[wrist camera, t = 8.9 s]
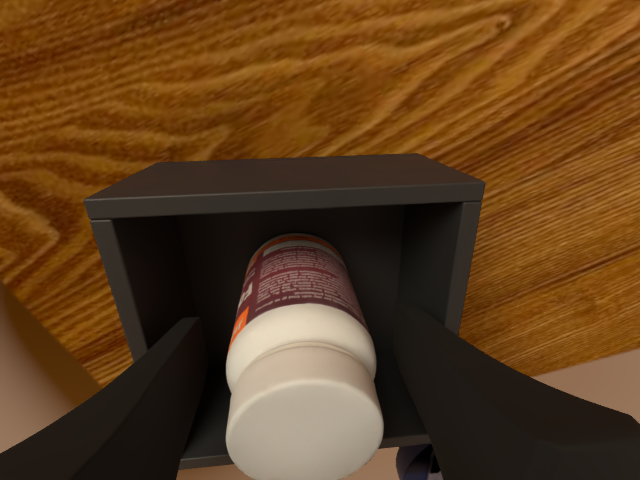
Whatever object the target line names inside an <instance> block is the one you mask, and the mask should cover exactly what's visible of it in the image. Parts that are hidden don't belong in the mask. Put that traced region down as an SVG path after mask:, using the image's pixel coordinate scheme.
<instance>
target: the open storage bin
mask: <svg viewBox="0 0 640 480" xmlns="http://www.w3.org/2000/svg"><path fill="white" fill-rule="evenodd" d="M484 189H485V182H484V181H482V180H479V179H477V178H474V177H472V176H470V175H467V174H465V173H463V172H460V171H458V170H455V169H453V168H451V167H448V166H446V165H444V164H441V163H439V162H436V161H434V160H432V159H429V158H427V157H424V156H422V155H420V154H418V153H413V154H385V155H357V156H329V157H301V158H273V159H245V160H217V161H189V162H161V163H155V164H153V165H152V166H150V167H148V168H146V169H144V170H142V171H140V172H138V173H136V174H134V175H132V176H130V177H128V178H126V179H124V180H121V181H119V182H117V183H115V184H113V185H111V186H109V187H107V188H105V189H103V190H101V191H99V192H97V193H95V194H93V195H91V196H89V197H87V198H85V199H84V204H85V207H86V210H87V214H88V217H89V219H92V220H91V221H90V223H91V227H92V230H93V233H94V236H95V239H96V243H97V246H98V249H99V252H100V255H101V259H102V262H103V265H104V268H105V272H106V275H107V278H108V281H109V284H110V288H111V291H112V294H113V297H114V300H115V304H116V307H117V310H118V313H119V317H120V320H121V323H122V326H123V329H124V333H125V336H126V339H127V342H128V345H129V349H130V352H131V355H132V358H133V361H134V363H135V362H136V361H137V360H138V359H139V358H140V357H142V356H143V355H144V354H145V353H146V352H147V351H148V350H149V349H150V348H151V347H152V346H153V345H154V344H156V343H157V342H158V341H159V340H160V339H161V338H162V337H163V336H164V335H165V334H166V333H167V332H168V331H169V330H170V329H171V328H172V327H173V326H174V325H175V324H176V323H178V322H179V321H180V320H181V319H182V318H190V317H200V320H201V325H202V330H203V335H204V341H205V346H206V351H207V356H208V367H207V373H206V378H205V383H204V388H203V391H202V395H201V398H200V401H199V404H198V407H197V410H196V414H195V417H194V420H193V423H192V426H191V429H190V432H189V435H188V438H187V441H186V444H185V447H184V450H183V454H182V457H181V461H180V465H179V469H178V470H183V469H192V468H201V467H211V466H220V465H230V464H235V463H234V462H233V461H232V460H231V458H230V455H229V453H228V450H227V446H226V429H227V422H228V416H229V409H230V399H231V395H232V393H231V391H230V389H229V386H228V382H227V377H226V361H227V356H228V351H229V345H230V342H231V338H232V333H233V328H234V324H235V320H236V315H237V311H238V305H239V301H240V297H241V293H242V288H243V284H244V281H245V276H246V271H247V268H248V264H249V262H250V260H251V258H252V256H253V255H254V253H255V252H256V251H257V250H258V249H259V248H260V247H261V246H262V245H263V244H264V243H266V242H267V241H269V240H271V239H272V238H275V237H277V236H280V235H283V234H289V233H306V234H311V235H314V236H318V237H320V238H322V239H324V240H325V241H327V242H328V243H330V244H331V245H332V246H333V247H334V248H335V249H336V250H337V251H338V252H339V254H340V255H341V257H342V259H343V261H344V263H345V266H346V269H347V271H348V274H349V277H350V280H351V283H352V285H353V288H354V291H355V294H356V296H357V300H358V303H359V306H360V308H361V311H362V314H363V316H364V319H365V322H366V325H367V327H368V330H369V332H370V335H371V338H372V341H373V344H374V349H375V353H376V373H375V378H374V381H373V382H374V384H375V388H376V393H377V397H378V401H379V404H380V408H381V411H382V416H383V422H384V432H383V438H382V441H381V444H380V446H379V448H378V449H381V448H390V447H400V446H409V445H419V444H428V443H431V441H430V438H429V436H428V433H427V431H426V428H425V426H424V424H423V421H422V419H421V417H420V415H419V413H418V411H417V408H416V406H415V404H414V402H413V400H412V397H411V395H410V393H409V391H408V389H407V386H406V384H405V382H404V380H403V377H402V375H401V373H400V370H399V367H398V364H397V361H396V358H395V354H394V351H393V347H392V343H393V331H394V318H395V306H396V303H401V302H413V303H414V304H416V305H417V306H418V307H420V308H421V309H422V310H424V311H425V312H426V313H427V314H429V315H430V316H431V317H433V318H434V319H435V320H437V321H438V322H439V323H441V324H442V325H443V326H445V327H446V328H447V329H449V330H450V331H452V332H453V333H454V334H456V335H457V336H458V334H459V328H460V323H461V317H462V311H463V306H464V300H465V295H466V289H467V283H468V278H469V272H470V267H471V261H472V255H473V250H474V244H475V239H476V233H477V227H478V222H479V216H480V211H481V205H482V202H481V200H482V199H483V194H484Z"/></svg>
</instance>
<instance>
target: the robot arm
mask: <svg viewBox="0 0 640 480" xmlns="http://www.w3.org/2000/svg"><path fill="white" fill-rule="evenodd" d="M392 347H393V351H394V354H395V358H396V361H397V364H398V367H399V370H400V373H401V375H402V377H403V380H404V382H405V384H406V386H407V389H408V391H409V393H410V395H411V397H412V400H413V402H414V404H415V406H416V408H417V411H418V413H419V415H420V417H421V419H422V421H423V424H424V426H425V428H426V431H427V433H428V436H429V438H430V441H431V443H432V446H433V450H432V452H431V458H430V464H429V470H428V476H427V480H640V424H639V423H638V422H637V421H636V420H635V419H634V418H633V417H632V416H630V415H628V414H625V413H622V412H619V411H616V410H613V409H610V408H607V407H604V406H601V405H598V404H595V403H592V402H589V401H586V400H584V399H581V398H578V397H575V396H573V395H570V394H568V393H566V392H563V391H560V390H558V389H555V388H553V387H551V386H548V385H546V384H544V383H541V382H539V381H537V380H535V379H533V378H531V377H529V376H527V375H524V374H522V373H520V372H518V371H516V370H514V369H512V368H510V367H508V366H506V365H505V364H503V363H501V362H499V361H497V360H496V359H494V358H492V357H490V356H488V355H487V354H485V353H483V352H482V351H480V350H478V349H477V348H475V347H474V346H472V345H471V344H469V343H468V342H466V341H465V340H463V339H462V338H460V337H459V336H457V335H456V334H454V333H453V332H452V331H450V330H449V329H447V328H446V327H445V326H443V325H442V324H441V323H439V322H438V321H437V320H435V319H434V318H433V317H431V316H430V315H429V314H427V313H426V312H425V311H424V310H422V309H421V308H420V307H418V306H417V305H416V304H414V303H413V302H401V303H396V306H395V318H394V331H393V343H392ZM207 367H208V356H207V351H206V346H205V341H204V335H203V330H202V325H201V320H200V317H190V318H182V319H181V320H180V321H179V322H178V323H176V324H175V325H174V326H173V327H172V328H171V329H170V330H169V331H168V332H167V333H166V334H165V335H164V336H163V337H162V338H161V339H160V340H159V341H158V342H157V343H156V344H154V345H153V346H152V347H151V348H150V349H149V350H148V351H147V352H146V353H145V354H144V355H143V356H142V357H140V358H139V359H138V360H137V361H136V362H135V363H133V364H132V365H131V366H130V367H129V368H128V369H126V370H125V371H124V372H123V373H122V374H121V375H119V376H118V377H117V378H116V379H115V380H113V381H112V382H111V383H109V384H108V385H107V386H106V387H104V388H103V389H102V390H100V391H99V392H98V393H96V394H95V395H93V396H92V397H91V398H89V399H88V400H87V401H85V402H84V403H82V404H81V405H80V406H78V407H76V408H75V409H73V410H72V411H70V412H69V413H67V414H66V415H64V416H63V417H61V418H59V419H58V420H57V421H55V422H53V423H52V424H50V425H49V426H47V427H46V428H44V429H42V430H41V431H39V432H37V433H36V434H34V435H32V436H30V437H29V438H27V439H25V440H24V441H22V442H20V443H18V444H16V445H15V446H13V447H11V448H9V449H8V450H6V451H4V452H2V453H0V480H176V477H177V473H178V469H179V465H180V461H181V457H182V454H183V450H184V447H185V444H186V441H187V438H188V435H189V432H190V429H191V426H192V423H193V420H194V417H195V414H196V410H197V407H198V404H199V401H200V398H201V395H202V391H203V388H204V383H205V378H206V373H207Z"/></svg>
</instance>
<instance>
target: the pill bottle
mask: <svg viewBox="0 0 640 480" xmlns="http://www.w3.org/2000/svg"><path fill="white" fill-rule="evenodd" d="M375 373H376V353H375V349H374V344H373V341H372V338H371V335H370V332H369V330H368V327H367V325H366V322H365V319H364V316H363V314H362V311H361V308H360V306H359V303H358V300H357V296H356V294H355V291H354V288H353V285H352V283H351V280H350V277H349V274H348V271H347V269H346V266H345V263H344V261H343V259H342V257H341V255H340V254H339V252H338V251H337V250H336V249H335V248H334V247H333V246H332V245H331V244H330V243H328V242H327V241H325V240H324V239H322V238H320V237H318V236H314V235H311V234H306V233H289V234H283V235H280V236H277V237H275V238H272V239H271V240H269V241H267V242H266V243H264V244H263V245H262V246H261V247H260V248H259V249H258V250H257V251H256V252H255V253H254V255H253V256H252V258H251V260H250V262H249V264H248V268H247V271H246V276H245V281H244V284H243V288H242V293H241V297H240V301H239V305H238V311H237V315H236V320H235V324H234V328H233V333H232V338H231V342H230V345H229V351H228V356H227V361H226V377H227V382H228V386H229V389H230V391H231V393H232V395H231V399H230V409H229V416H228V422H227V429H226V446H227V450H228V453H229V455H230V458H231V460H232V461H233V462H234V463H235V465H236V466H237V467H238V468H239V469H240V470H241V471H242V472H243V473H245V474H246V475H247V476H249V477H251V478H252V479H254V480H340V479H343V478H345V477H347V476H349V475H351V474H353V473H355V472H356V471H357V470H359V469H360V468H362V467H363V466H364V465H365V464H367V462H369V461H370V460H371V458H372V457H373V456H374V454H375V453H376V451H377V449H378V448H379V446H380V444H381V441H382V438H383V432H384V422H383V416H382V411H381V408H380V404H379V401H378V397H377V393H376V388H375V384H374V382H373V381H374V378H375Z"/></svg>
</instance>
